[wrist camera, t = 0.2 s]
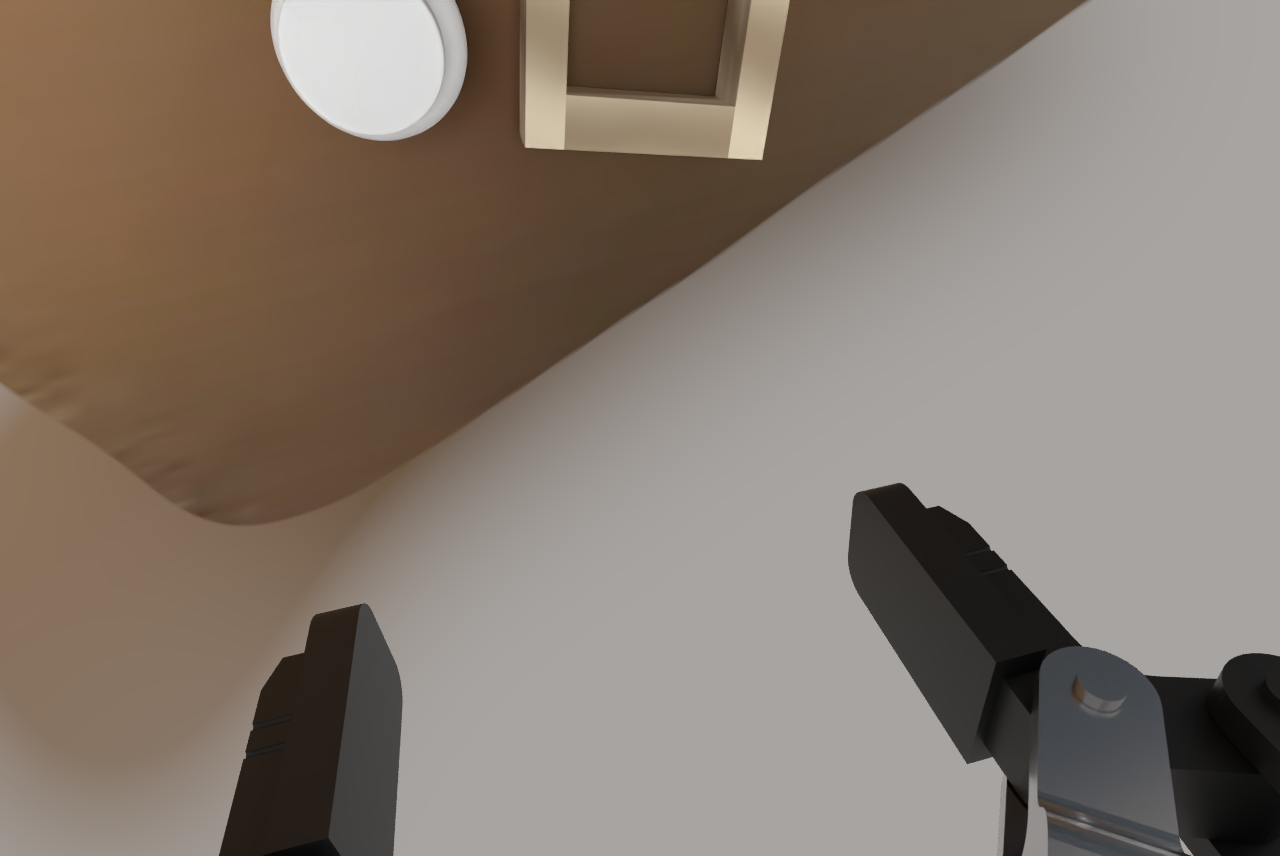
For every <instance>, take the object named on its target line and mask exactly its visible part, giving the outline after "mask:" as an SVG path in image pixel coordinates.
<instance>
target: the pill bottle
mask: <svg viewBox="0 0 1280 856" xmlns="http://www.w3.org/2000/svg"><path fill="white" fill-rule="evenodd" d="M270 21H271V34H272V40H273V44H274V49H275V52H276V55H277V58H278V60H279V63H280V65H281V67H282V69H283V71H284V73H285V75H286V77H287V79H288V81H289V82H290V84H291V85H292V87H293V89H294V90H295V91H296V93H297V94H298V95H299V96H300V98H301V99H302V100H303V101H304V102H305V103H306V105H307V106H309V107H310V108H311V109H312V110H313V111H314V112H315V113H316V114H317V115H319V116H320V117H321V118H322V119H324V120H325V121H327V122H328V123H329V124H331V125H333V126H334V127H336V128H338V129H340V130H342V131H344V132H347V133H349V134H351V135H354V136H357V137H361V138H365V139H370V140H378V141H391V140H399V139H404V138H408V137H411V136H414V135H417V134H419V133H422V132H424V131H425V130H427V129H429V128H430V127H432V126H433V125H435V124H436V123H437V122H439V121H440V120H441V119H442V118H443V117H444V116H445V115H446V113H447V112H448V111H449V110H450V108H451V107H452V106H453V104H454V102H455V101H456V99H457V97H458V95H459V93H460V90H461V88H462V85H463V82H464V78H465V73H466V67H467V41H466V34H465V28H464V24H463V20H462V17H461V14H460V11H459V9H458V6H457V4H456V2H455V0H272V4H271V17H270Z"/></svg>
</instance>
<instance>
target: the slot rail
mask: <svg viewBox="0 0 1280 856" xmlns="http://www.w3.org/2000/svg"><path fill="white" fill-rule="evenodd" d="M789 1H790V0H728V4H727V12H726V19H725V27H724V34H723V41H722V49H721V56H720V64H719V71H718V78H717V86H716V93H715V96H702V95H688V94H674V93H660V92H647V91H633V90H619V89H605V88H592V87H578V86H567V59H568V31H569V3H570V0H520V132H519V134H520V136H521V139H522V141H523V144H524V146H525V148H542V149H561V150H581V151H600V152H619V153H639V154H658V155H677V156H697V157H716V158H735V159H755V160H762V157H763V151H764V145H765V140H766V134H767V128H768V122H769V117H770V111H771V105H772V99H773V94H774V88H775V82H776V76H777V71H778V65H779V59H780V53H781V48H782V42H783V36H784V30H785V25H786V19H787V13H788V7H789Z"/></svg>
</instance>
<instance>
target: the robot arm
mask: <svg viewBox="0 0 1280 856" xmlns="http://www.w3.org/2000/svg"><path fill="white" fill-rule="evenodd" d="M848 565H849V570H850V574H851V578H852V581H853V583H854V586H855V588H856V590H857V592H858V594H859V596H860V597H861V599H862V600H863V602H864V603H865V605H866V606H867V608H868V610H869V611H870V613H871V614H872V616H873V617H874V619H875V621H876V622H877V624H878V625H879V627H880V628H881V630H882V631H883V633H884V635H885V636H886V638H887V639H888V641H889V643H890V644H891V646H892V647H893V649H894V650H895V652H896V653H897V655H898V657H899V658H900V660H901V661H902V663H903V664H904V666H905V667H906V669H907V670H908V672H909V674H910V675H911V677H912V678H913V680H914V681H915V683H916V685H917V686H918V688H919V689H920V691H921V693H922V694H923V696H924V697H925V699H926V700H927V702H928V703H929V705H930V707H931V708H932V710H933V711H934V713H935V714H936V716H937V717H938V719H939V720H940V722H941V724H942V725H943V727H944V728H945V730H946V732H947V733H948V735H949V736H950V738H951V739H952V741H953V742H954V744H955V746H956V747H957V749H958V750H959V752H960V753H961V755H962V756H963V758H964V759H965V761H966V763H967V764H969V763H973V762H976V761H979V760H983V759H987V758H990V757H993V758H994V759H995V761H996V762H997V764H998V765H999V766H1000V768H1001V770H1002V771H1003V772H1004V775H1003V778H1002V784H1001V798H1000V815H999V833H998V851H997V856H1190V855H1187V854H1185V853H1184V851H1183V849H1182V847H1181V843H1180V839H1179V837H1180V838H1181V840H1182V841H1183V842H1184V843H1185V845H1186V846H1187V847H1188V849H1189V850H1190V851H1191V853H1192V854H1193V855H1194V856H1280V657H1279V656H1275V655H1270V654H1261V653H1251V654H1243V655H1240V656H1237V657H1234V658H1233V659H1231V660H1229V661H1228V662H1227V664H1226V665H1225V666H1224V668H1223V670H1222V671H1221V673H1220V675H1219V677H1218V678H1217V679H1205V678H1180V677H1160V676H1148V675H1143V674H1142V673H1141V672H1140V671H1139V670H1138V669H1137V668H1135V667H1134V666H1133V665H1131V664H1129V663H1128V662H1127V661H1125V660H1123V659H1121V658H1119V657H1118V656H1115V655H1113V654H1111V653H1108V652H1106V651H1102V650H1099V649H1095V648H1090V647H1082V646H1081V645H1080V644H1079V643H1078V642H1077V641H1076V640H1075V639H1074V638H1073V637H1072V636H1071V635H1070V634H1069V632H1068V631H1067V630H1066V629H1065V628H1064V627H1063V626H1062V625H1061V624H1060V622H1059V621H1058V620H1057V619H1056V618H1055V617H1054V616H1053V615H1052V614H1051V613H1050V612H1049V611H1048V609H1047V608H1046V607H1045V606H1044V605H1043V604H1042V603H1041V602H1040V601H1039V600H1038V598H1037V597H1036V596H1035V595H1034V594H1033V593H1032V592H1031V591H1030V590H1029V589H1028V587H1027V586H1026V585H1025V584H1024V583H1023V582H1022V581H1021V580H1020V579H1019V578H1018V577H1017V576H1016V574H1015V573H1014V572H1013V571H1012V570H1008V568H1007V564H1006V563H1005V562H1004V561H1003V560H1002V559H1001V558H1000V557H999V556H998V555H997V554H996V553H995V551H991V550H990V546H989V545H988V544H987V543H986V541H985V540H984V539H983V538H982V537H981V536H980V535H979V534H978V533H977V532H976V531H975V530H974V528H973V527H972V526H971V525H970V524H969V523H968V522H966V521H964V520H962V519H961V518H959V517H957V516H956V515H954V514H952V513H950V512H949V511H947V510H945V509H944V508H942V507H940V506H936V507H932V508H927V509H926V508H925V507H924V505H923V504H922V503H921V502H920V501H919V500H918V498H917V497H916V496H915V495H914V494H913V493H912V491H911V490H910V489H909V488H908V487H907V486H905V485H904V484H902V483H896V484H892V485H888V486H883V487H879V488H875V489H870V490H866V491H861V492H858V493H856V495H855V496H854V499H853V507H852V518H851V529H850V540H849V552H848ZM401 719H402V688H401V681H400V676H399V672H398V668H397V665H396V663H395V661H394V658H393V656H392V654H391V652H390V650H389V647H388V645H387V643H386V641H385V639H384V636H383V634H382V632H381V630H380V628H379V626H378V623H377V621H376V619H375V617H374V615H373V612H372V610H371V609H370V607H369V606H368V605H367V604H360V605H355V606H351V607H347V608H342V609H338V610H333V611H329V612H325V613H320V614H316V615H315V616H314V617H313V618H312V620H311V624H310V628H309V633H308V638H307V642H306V647H305V652H304V653H301V654H297V655H293V656H289V657H284V658H282V660H281V661H280V663H279V665H278V666H277V667H276V669H275V670H274V672H273V673H272V675H271V676H270V678H269V679H268V681H267V682H266V684H265V685H264V687H263V688H262V690H261V693H260V697H259V701H258V704H257V708H256V712H255V716H254V720H253V730H252V731H251V732H250V736H249V740H248V744H247V748H246V751H245V752H246V759H244V760H243V763H242V767H241V771H240V775H239V779H238V783H237V787H236V791H235V795H234V799H233V803H232V806H231V810H230V815H229V819H228V823H227V826H226V830H225V835H224V838H223V842H222V846H221V850H220V854H219V856H393V850H394V833H395V817H396V800H397V784H398V768H399V751H400V736H401Z"/></svg>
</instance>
